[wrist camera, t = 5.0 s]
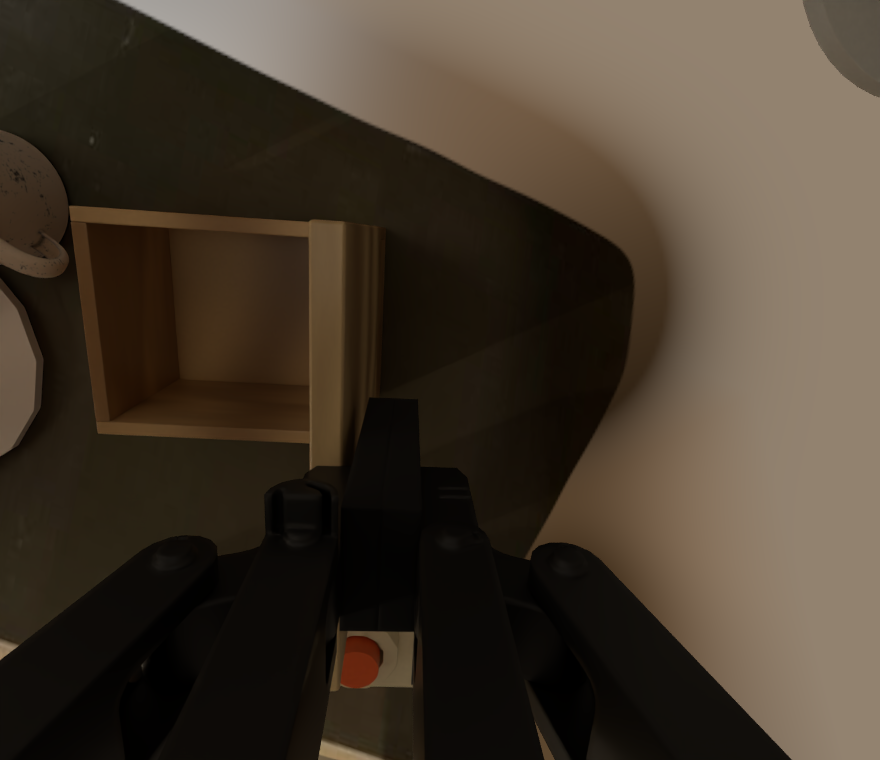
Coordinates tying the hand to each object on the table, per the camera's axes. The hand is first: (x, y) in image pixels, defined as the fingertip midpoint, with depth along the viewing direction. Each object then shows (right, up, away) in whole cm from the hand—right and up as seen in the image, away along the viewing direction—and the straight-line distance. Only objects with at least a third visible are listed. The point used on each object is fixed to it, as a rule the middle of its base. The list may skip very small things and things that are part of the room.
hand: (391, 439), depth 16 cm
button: (-5, -21, +26) cm, 34 cm away
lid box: (-11, +7, +22) cm, 25 cm away
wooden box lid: (-2, +1, +4) cm, 5 cm away
